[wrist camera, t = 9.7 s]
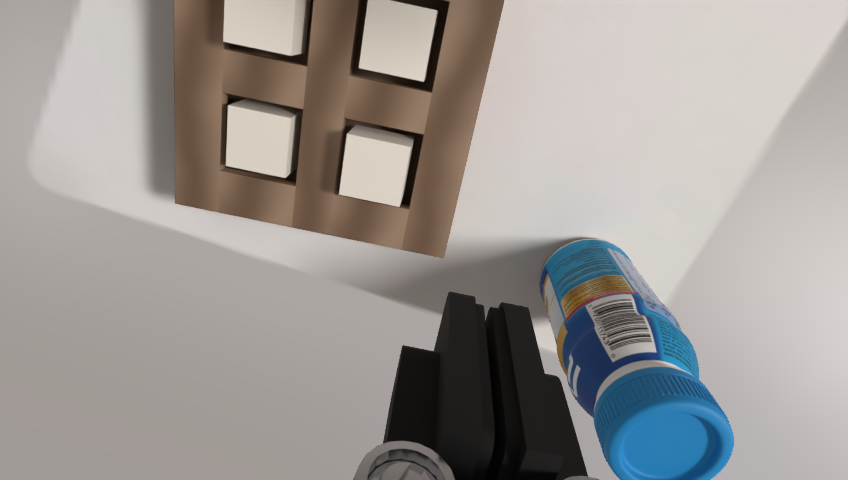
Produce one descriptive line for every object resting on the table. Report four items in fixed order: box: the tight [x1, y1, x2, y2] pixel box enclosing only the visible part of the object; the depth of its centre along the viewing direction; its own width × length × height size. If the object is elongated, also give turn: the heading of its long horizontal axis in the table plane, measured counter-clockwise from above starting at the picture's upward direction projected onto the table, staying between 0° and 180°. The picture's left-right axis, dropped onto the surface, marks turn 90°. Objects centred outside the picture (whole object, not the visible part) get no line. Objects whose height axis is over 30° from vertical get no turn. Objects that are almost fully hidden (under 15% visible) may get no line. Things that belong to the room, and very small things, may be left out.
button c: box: [223, 0, 310, 56], centre depth 34 cm, size 5×5×4 cm
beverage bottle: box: [540, 239, 734, 480], centre depth 36 cm, size 8×8×20 cm
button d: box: [339, 125, 415, 207], centre depth 38 cm, size 5×5×4 cm
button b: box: [226, 98, 303, 178], centre depth 39 cm, size 5×5×4 cm
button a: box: [359, 0, 439, 82], centre depth 36 cm, size 5×5×4 cm
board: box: [174, 0, 504, 258], centre depth 38 cm, size 22×22×4 cm
